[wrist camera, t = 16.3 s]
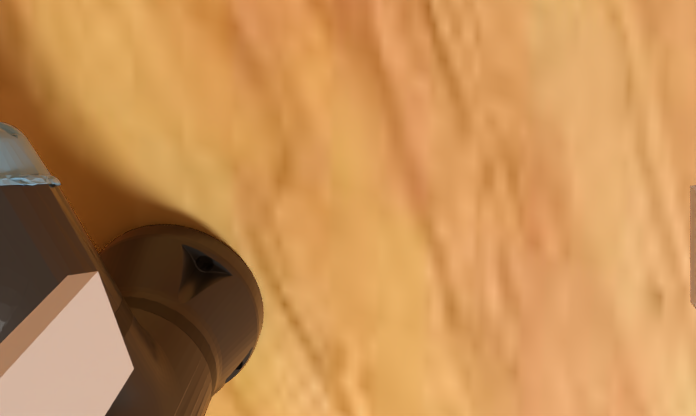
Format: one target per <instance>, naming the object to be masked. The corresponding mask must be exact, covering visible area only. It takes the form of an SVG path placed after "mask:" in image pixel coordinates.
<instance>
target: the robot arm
mask: <svg viewBox="0 0 696 416" xmlns="http://www.w3.org/2000/svg"><path fill="white" fill-rule="evenodd" d="M60 185H61V183H60V181H59V180H58V178H56V177H55V176H52V175H51V174H50V172H49V171H48V169H47V168H46V166H45V165H44V163H43V162H42V160H41V159H40V157H39V156H38V154H37V153H36V151H35V150H34V148H33V147H32V145H31V143H30V142H29V140H28V139H27V138H26V136H25V135H24V134H23V133H22V132H21V131H20V130H18V129H17V128H15V127H14V126H12V125H10V124H7V123H3V122H0V416H204V415H205V413H206V410H207V408H208V405H209V403H210V400H211V398H212V396H213V395H214V394H215V393H217V392H218V391H219V390H220V389H221V388H222V387H223V386H224V384H225V383H227V382H228V381H230V380H231V379H232V378H233V377H234V376H236V375H237V374H238V373H239V372H240V371H241V370H242V369H243V367H244V366H245V365H246V363H247V362H248V360H249V359H250V357H251V355H252V353H253V351H254V349H255V346H256V344H257V341H258V338H259V335H260V332H261V329H262V324H263V302H262V297H261V293H260V290H259V287H258V285H257V282H256V280H255V278H254V276H253V275H252V273H251V271H250V270H249V269H248V267H247V266H246V264H245V263H244V262H243V261H242V260H241V259H240V258H239V256H238V255H236V254H235V253H234V252H233V251H232V250H231V249H230V248H229V247H227V246H226V245H224V244H223V243H222V242H220V241H218V240H217V239H215V238H213V237H211V236H209V235H207V234H205V233H203V232H200V231H198V230H194V229H191V228H187V227H183V226H177V225H150V226H144V227H140V228H137V229H134V230H131V231H129V232H126V233H124V234H123V235H121V236H119V237H118V238H116V239H115V240H113V241H112V242H111V243H110V244H109V245H108V246H107V247H106V248H105V249H104V250H103V251H102V252H101V253H100V254H98V252H97V251H96V249H95V247H94V245H93V244H92V242H91V240H90V239H89V237H88V235H87V233H86V232H85V230H84V228H83V226H82V225H81V223H80V221H79V220H78V218H77V216H76V214H75V213H74V211H73V209H72V207H71V206H70V204H69V202H68V201H67V199H66V197H65V195H64V194H63V192H62V190H61V188H60V187H59V186H60ZM690 298H691V303H692V305H693V306H694V307H695V308H696V185H694V186H690Z"/></svg>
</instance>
